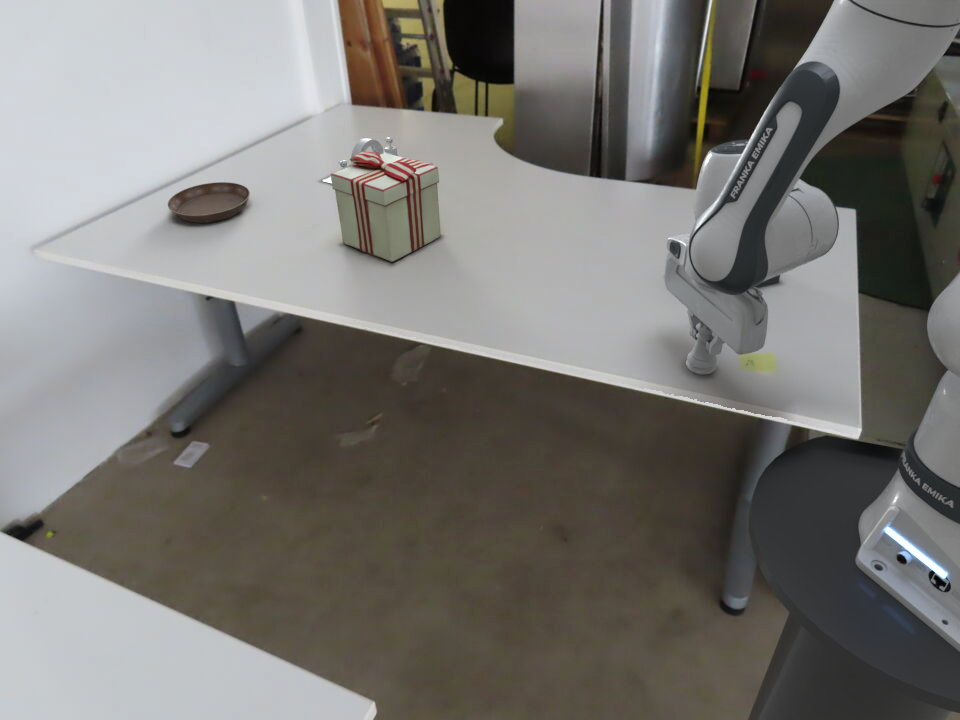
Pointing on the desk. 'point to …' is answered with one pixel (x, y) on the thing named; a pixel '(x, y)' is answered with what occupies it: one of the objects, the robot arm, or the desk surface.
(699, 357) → the rook chess piece
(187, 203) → the plant saucer
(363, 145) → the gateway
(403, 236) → the gift box
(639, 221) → the desk surface
